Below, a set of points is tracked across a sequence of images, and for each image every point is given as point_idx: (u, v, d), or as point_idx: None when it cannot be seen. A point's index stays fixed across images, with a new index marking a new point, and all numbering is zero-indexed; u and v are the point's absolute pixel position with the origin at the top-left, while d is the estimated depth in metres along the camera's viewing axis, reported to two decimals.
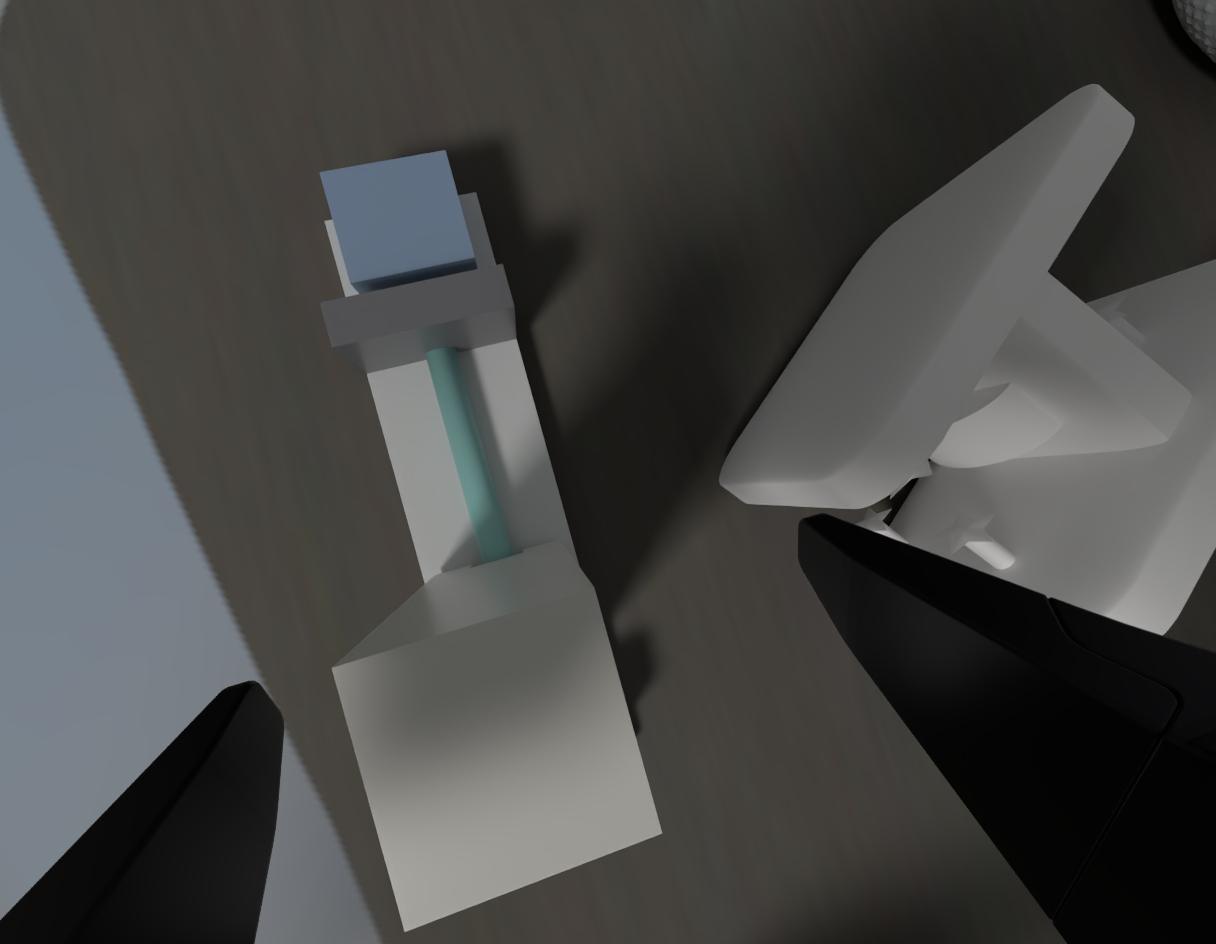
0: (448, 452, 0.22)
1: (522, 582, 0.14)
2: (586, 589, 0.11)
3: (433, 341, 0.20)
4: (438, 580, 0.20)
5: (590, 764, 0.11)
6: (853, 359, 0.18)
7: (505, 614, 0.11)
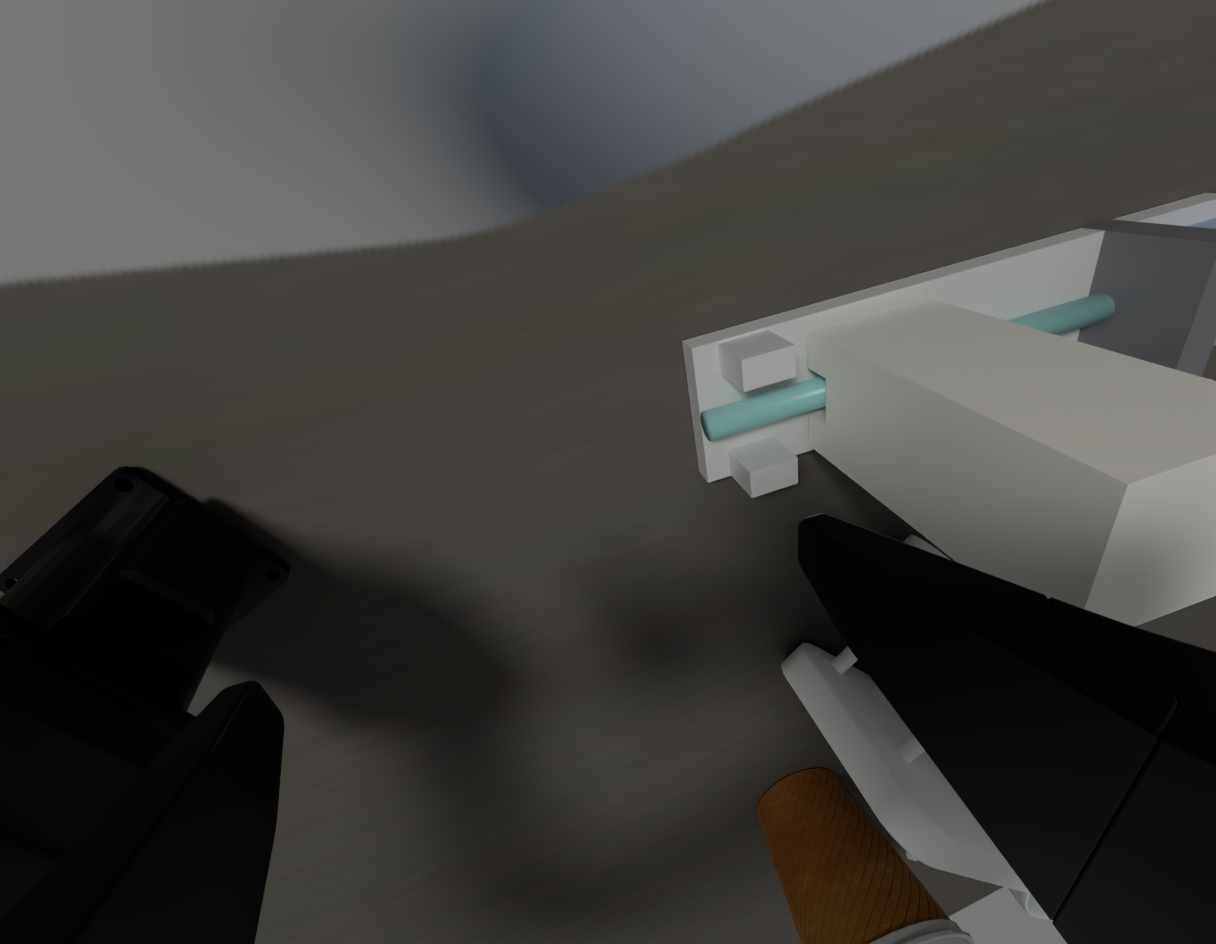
0: (1012, 308, 0.23)
1: None
2: None
3: (1138, 315, 0.22)
4: None
5: (1141, 600, 0.13)
6: None
7: None
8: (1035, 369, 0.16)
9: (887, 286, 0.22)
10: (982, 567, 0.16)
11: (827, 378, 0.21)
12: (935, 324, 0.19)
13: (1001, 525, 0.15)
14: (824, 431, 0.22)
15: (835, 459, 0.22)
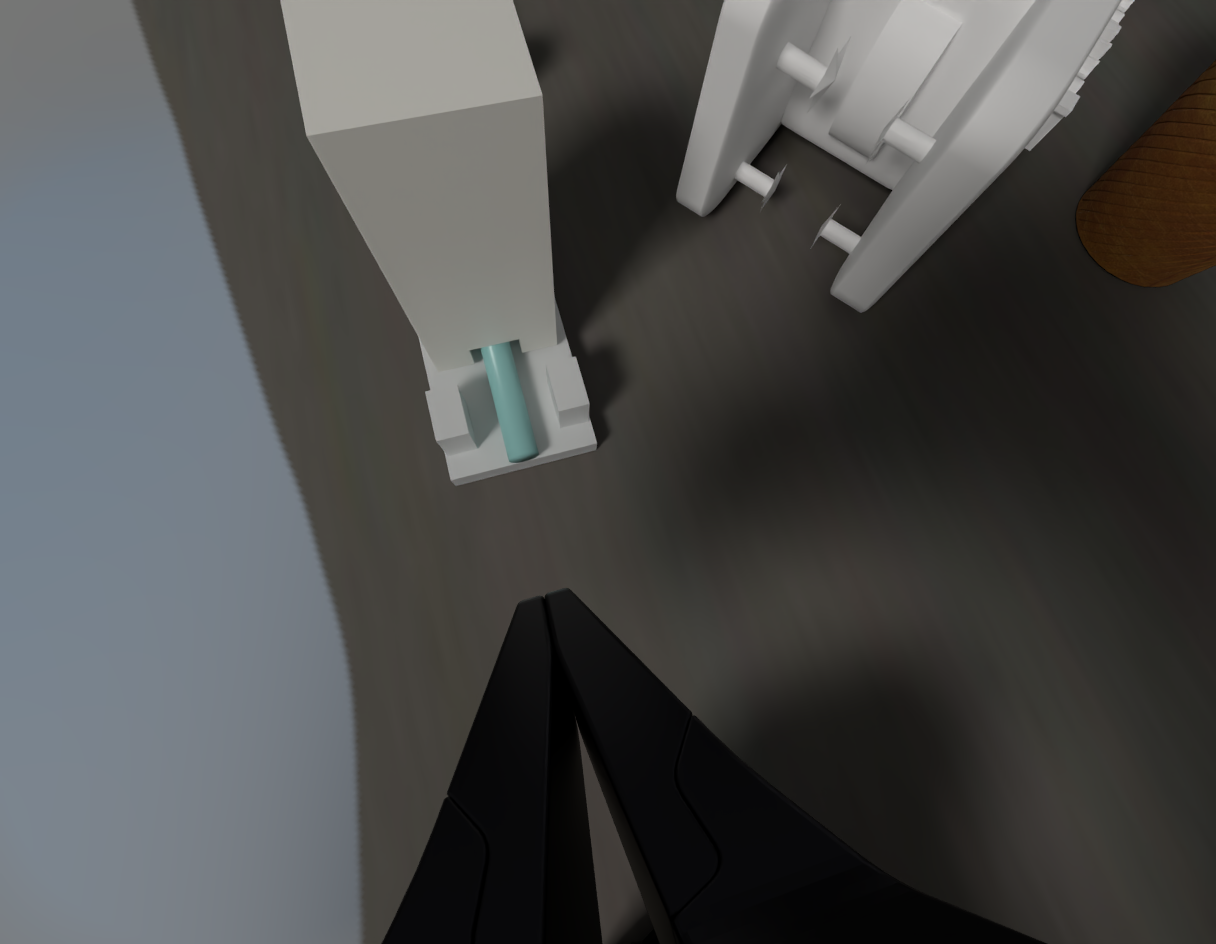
0: None
1: None
2: None
3: None
4: None
5: (480, 39, 0.12)
6: None
7: None
8: None
9: None
10: (529, 191, 0.15)
11: (467, 349, 0.22)
12: None
13: (462, 195, 0.14)
14: (526, 338, 0.22)
15: (547, 323, 0.22)
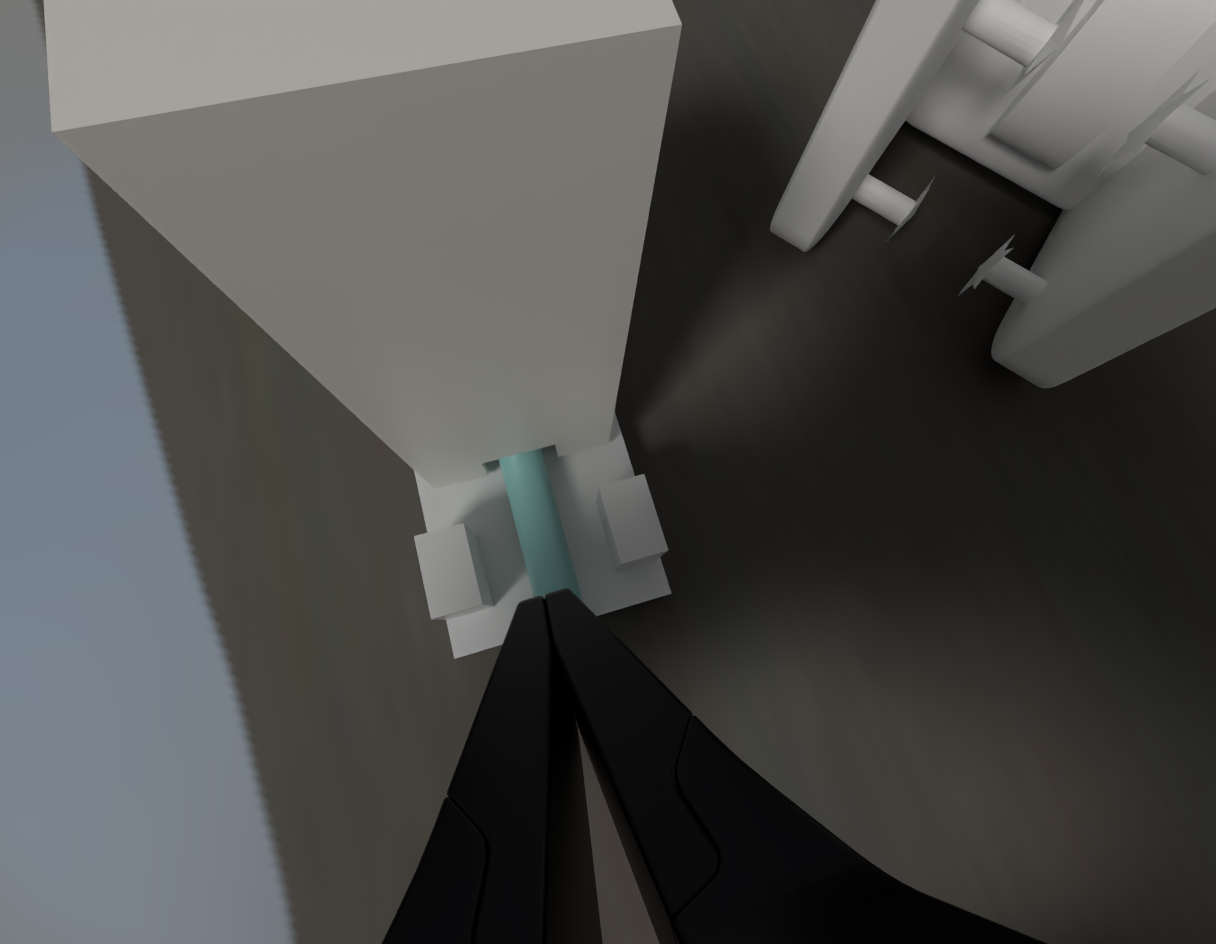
0: None
1: None
2: None
3: None
4: None
5: None
6: None
7: None
8: None
9: None
10: (608, 244, 0.07)
11: (479, 463, 0.14)
12: None
13: (477, 258, 0.07)
14: (567, 442, 0.15)
15: (600, 424, 0.14)
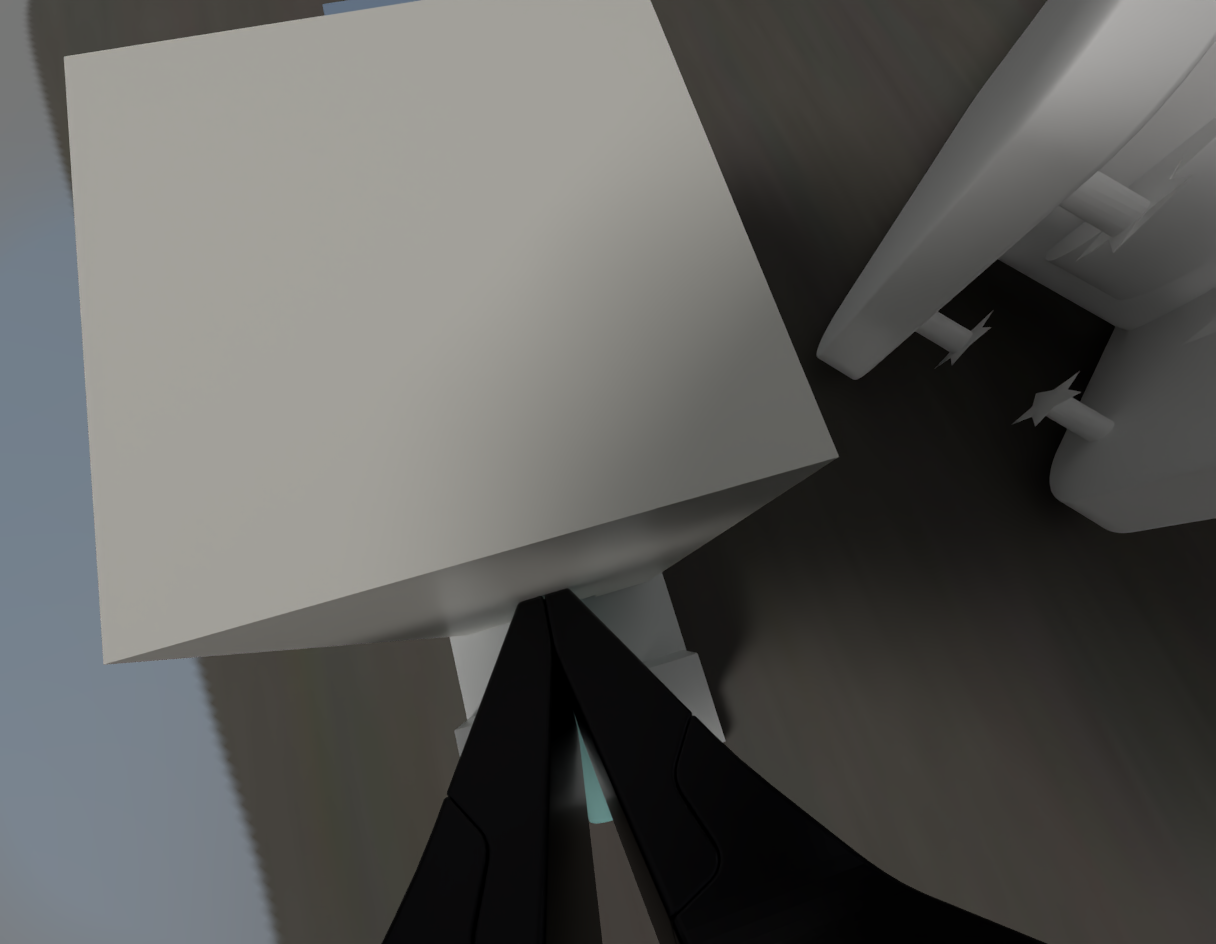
0: None
1: None
2: None
3: None
4: None
5: (641, 282, 0.04)
6: (1014, 74, 0.12)
7: None
8: None
9: None
10: (697, 534, 0.07)
11: None
12: None
13: (557, 572, 0.06)
14: (607, 591, 0.14)
15: (644, 579, 0.13)
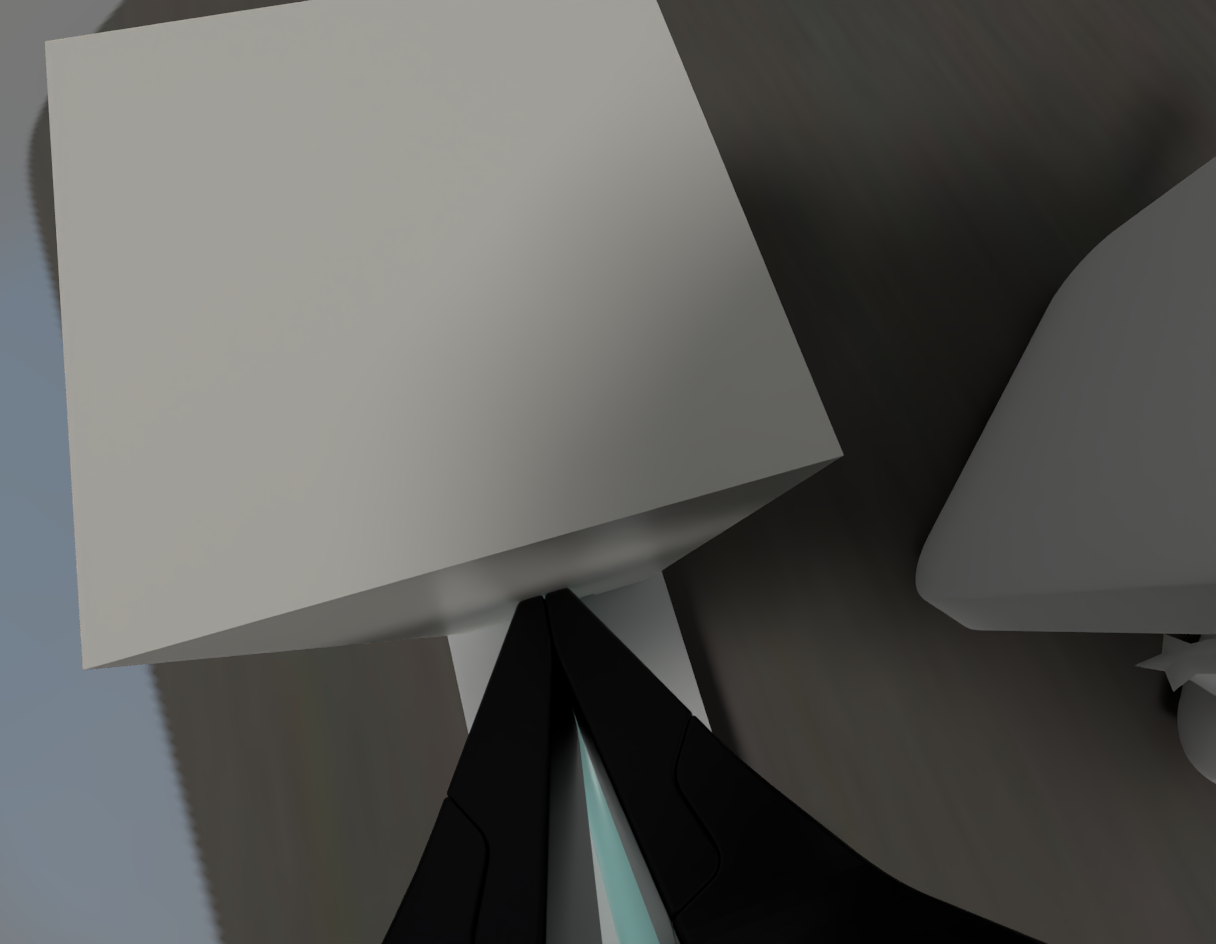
0: None
1: None
2: None
3: None
4: None
5: (639, 275, 0.04)
6: (1200, 372, 0.10)
7: None
8: None
9: None
10: (697, 534, 0.07)
11: None
12: None
13: (554, 573, 0.06)
14: (606, 589, 0.14)
15: (643, 577, 0.13)
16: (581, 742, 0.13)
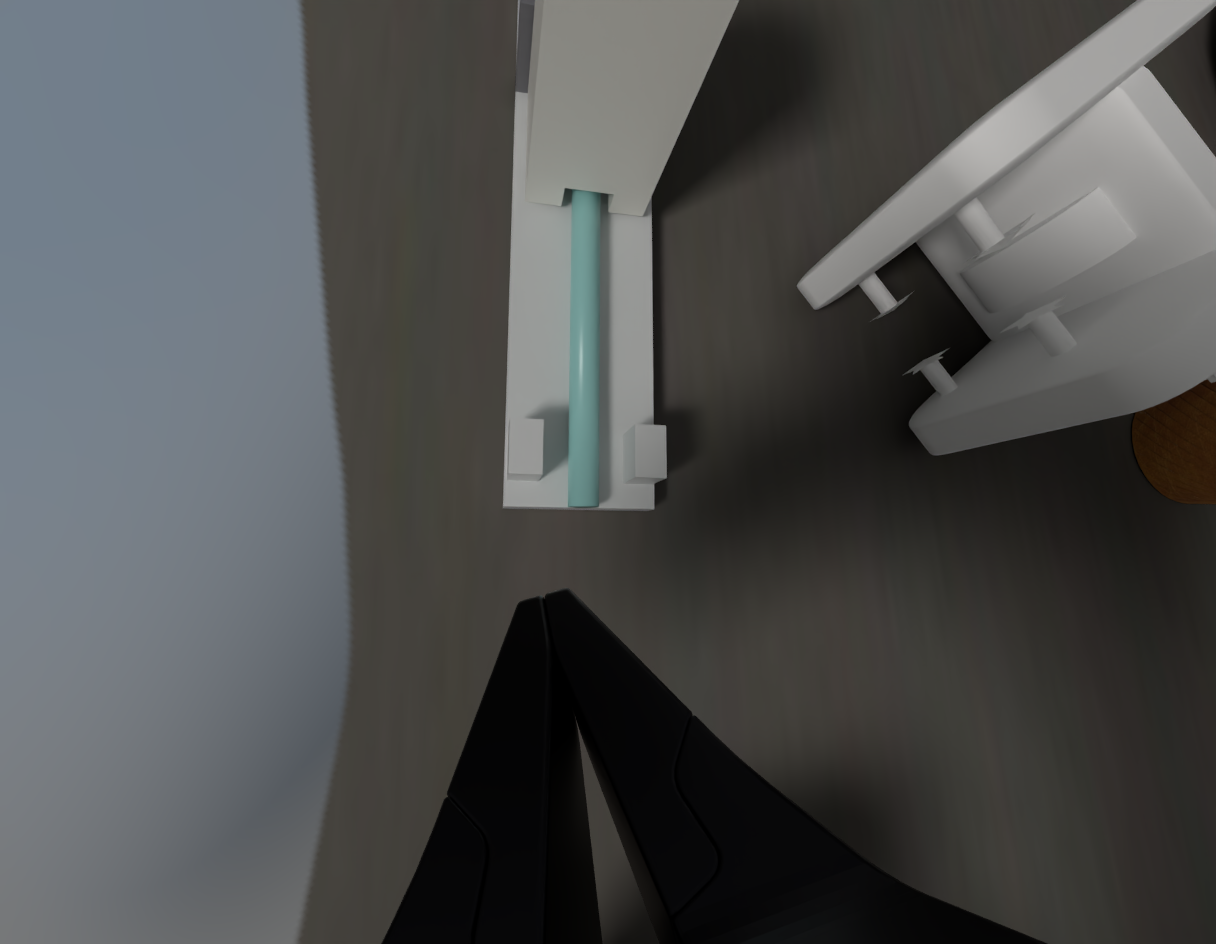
0: None
1: None
2: None
3: None
4: None
5: None
6: None
7: None
8: None
9: None
10: (710, 22, 0.15)
11: (564, 186, 0.22)
12: (530, 80, 0.21)
13: (653, 0, 0.15)
14: (621, 196, 0.23)
15: (647, 187, 0.22)
16: (581, 272, 0.22)
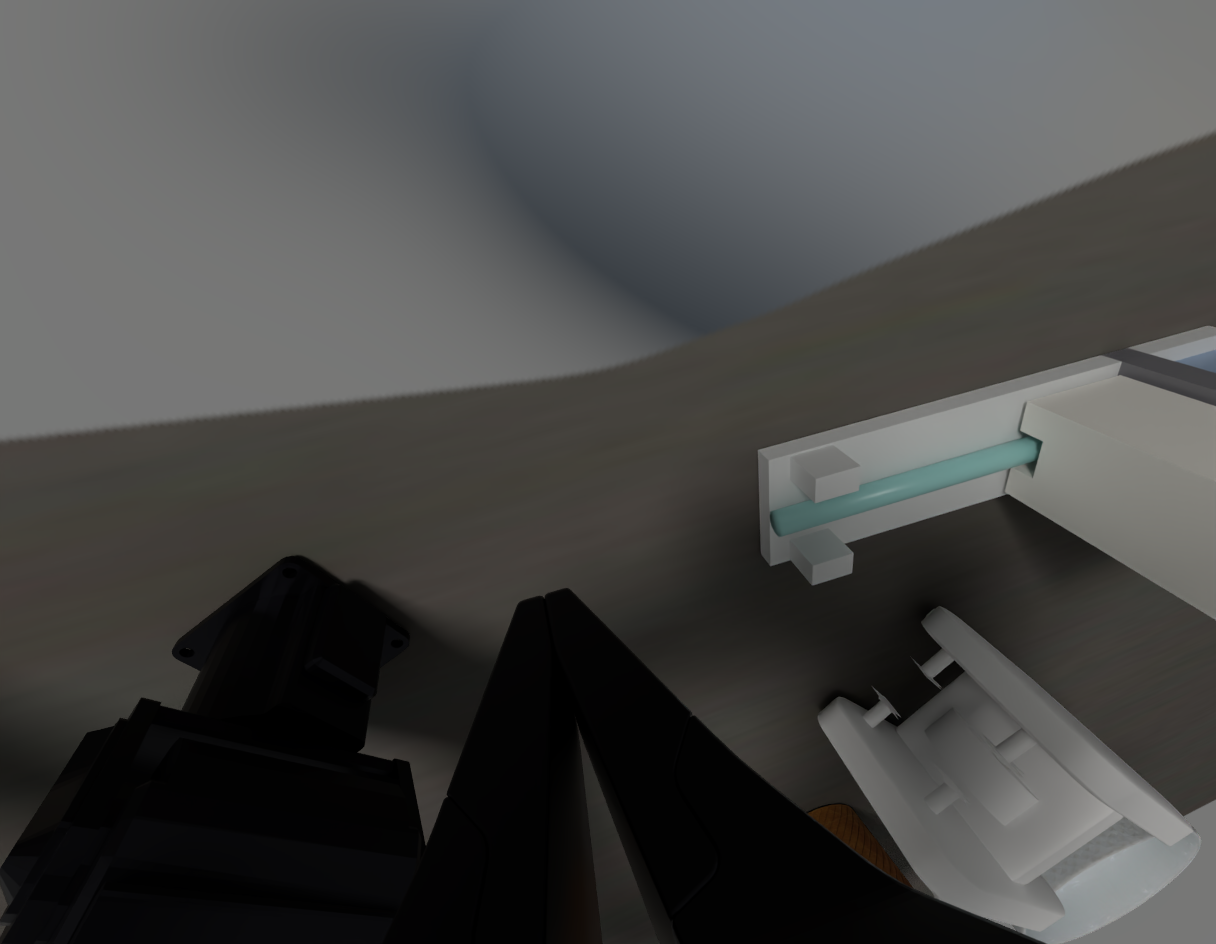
0: None
1: None
2: None
3: None
4: None
5: None
6: None
7: None
8: None
9: (934, 405, 0.26)
10: (1215, 606, 0.20)
11: (1045, 441, 0.25)
12: (1146, 403, 0.24)
13: None
14: (1029, 483, 0.27)
15: (1040, 507, 0.26)
16: (969, 471, 0.25)
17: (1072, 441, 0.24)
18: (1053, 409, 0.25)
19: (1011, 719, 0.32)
